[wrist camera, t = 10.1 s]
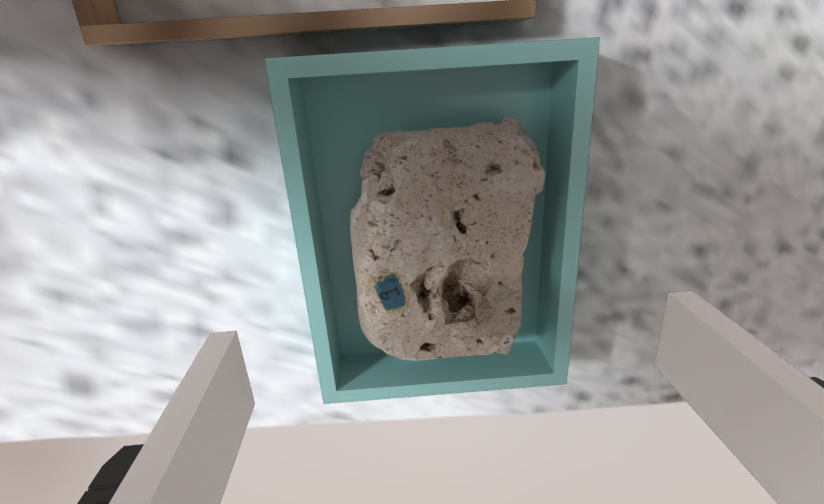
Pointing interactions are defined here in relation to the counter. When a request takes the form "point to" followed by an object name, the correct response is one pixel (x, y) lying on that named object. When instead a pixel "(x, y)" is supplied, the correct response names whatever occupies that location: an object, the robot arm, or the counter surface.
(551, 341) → the teal dish
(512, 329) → the stone
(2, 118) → the counter surface
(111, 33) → the walnut frame
